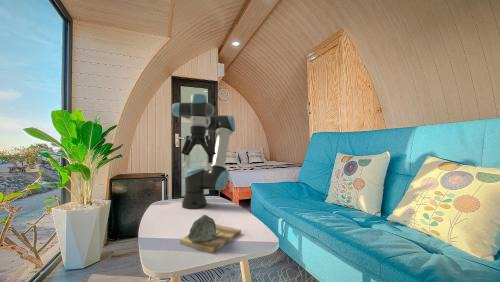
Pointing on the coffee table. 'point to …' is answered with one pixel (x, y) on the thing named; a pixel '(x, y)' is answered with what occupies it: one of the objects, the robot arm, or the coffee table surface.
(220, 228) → the board
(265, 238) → the coffee table surface
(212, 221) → the stone
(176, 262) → the coffee table surface
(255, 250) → the coffee table surface
